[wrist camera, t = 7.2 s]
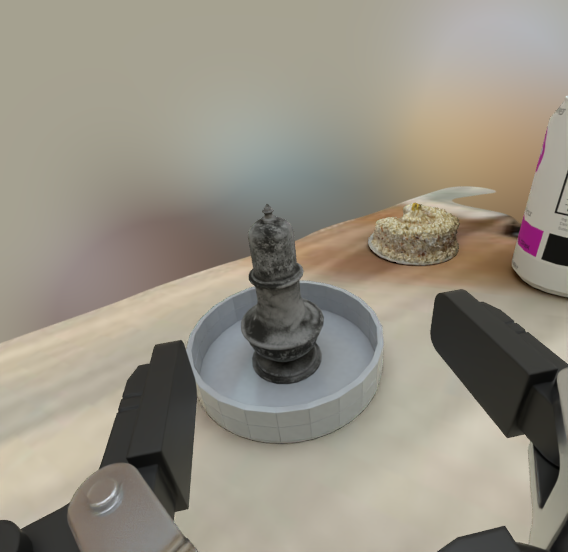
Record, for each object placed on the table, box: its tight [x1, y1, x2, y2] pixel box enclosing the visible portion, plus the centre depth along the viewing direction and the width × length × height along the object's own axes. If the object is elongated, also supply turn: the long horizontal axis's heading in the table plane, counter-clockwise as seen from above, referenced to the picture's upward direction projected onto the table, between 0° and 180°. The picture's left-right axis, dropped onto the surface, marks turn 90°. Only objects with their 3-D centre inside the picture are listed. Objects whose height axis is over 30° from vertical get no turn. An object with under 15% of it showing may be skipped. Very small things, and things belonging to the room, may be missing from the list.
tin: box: [186, 281, 384, 443], centre depth 25 cm, size 14×14×3 cm
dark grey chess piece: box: [241, 204, 324, 384], centre depth 23 cm, size 6×6×12 cm
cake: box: [368, 203, 460, 266], centre depth 39 cm, size 10×10×5 cm
